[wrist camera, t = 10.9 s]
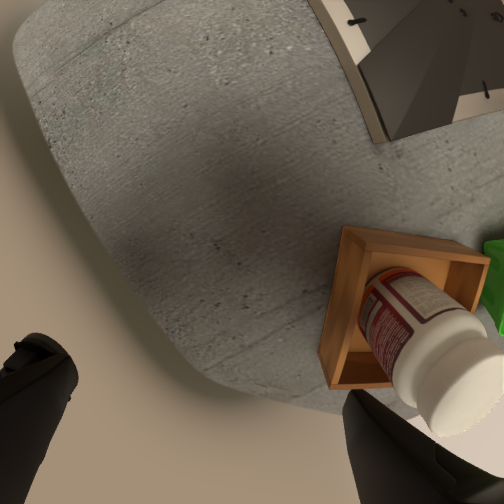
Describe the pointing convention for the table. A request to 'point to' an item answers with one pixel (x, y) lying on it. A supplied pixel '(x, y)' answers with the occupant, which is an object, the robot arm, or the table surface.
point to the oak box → (367, 268)
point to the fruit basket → (494, 283)
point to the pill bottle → (431, 350)
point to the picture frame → (418, 60)
